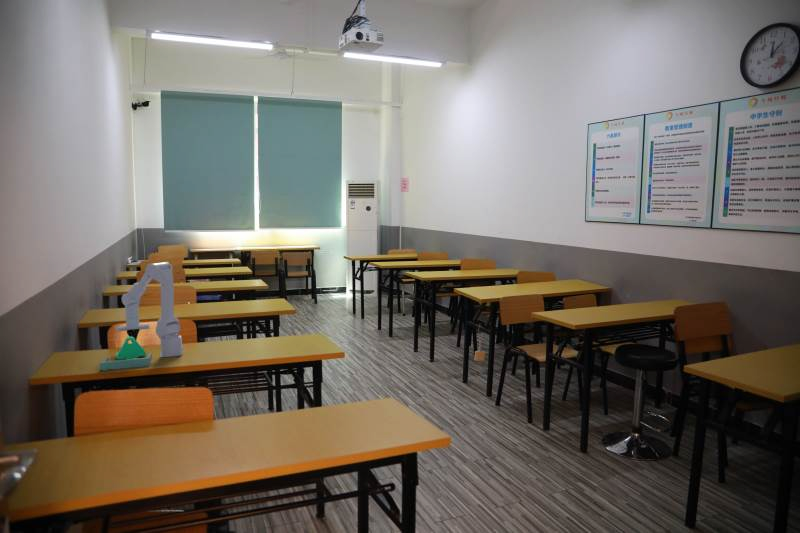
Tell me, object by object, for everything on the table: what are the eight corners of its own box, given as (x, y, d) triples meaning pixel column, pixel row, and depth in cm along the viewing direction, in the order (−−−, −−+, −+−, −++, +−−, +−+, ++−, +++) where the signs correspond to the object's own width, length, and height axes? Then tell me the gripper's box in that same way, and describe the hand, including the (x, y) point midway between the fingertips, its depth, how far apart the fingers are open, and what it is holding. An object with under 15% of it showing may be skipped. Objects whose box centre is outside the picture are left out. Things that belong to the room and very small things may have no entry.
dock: (152, 358, 249) (151, 350, 249) (148, 365, 237) (148, 358, 236) (105, 362, 243) (105, 355, 242) (100, 370, 230) (99, 362, 230)
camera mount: (144, 354, 258) (142, 333, 256) (146, 357, 251) (144, 336, 250) (116, 358, 251) (114, 336, 250) (117, 361, 245) (115, 339, 244)
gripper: (149, 314, 268) (151, 341, 270) (117, 317, 263) (119, 344, 265) (147, 317, 262) (149, 344, 263) (114, 319, 257) (116, 347, 258)
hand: (134, 344), depth 264 cm, fingers closed
